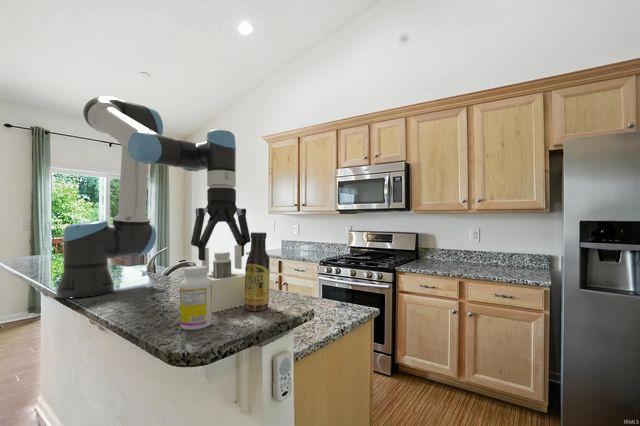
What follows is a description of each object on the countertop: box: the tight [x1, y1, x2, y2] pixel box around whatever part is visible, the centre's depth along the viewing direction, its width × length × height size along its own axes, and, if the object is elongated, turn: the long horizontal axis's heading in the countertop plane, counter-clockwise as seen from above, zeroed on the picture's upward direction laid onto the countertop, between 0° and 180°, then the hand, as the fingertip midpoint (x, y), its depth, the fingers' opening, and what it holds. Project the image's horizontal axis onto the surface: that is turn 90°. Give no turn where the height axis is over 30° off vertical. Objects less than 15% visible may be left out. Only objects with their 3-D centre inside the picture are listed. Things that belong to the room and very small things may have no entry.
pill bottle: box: [212, 251, 232, 279], centre depth 88 cm, size 5×5×8 cm
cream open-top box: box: [206, 270, 245, 313], centre depth 88 cm, size 12×10×9 cm
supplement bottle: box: [179, 265, 213, 331], centre depth 71 cm, size 7×7×13 cm
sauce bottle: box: [244, 231, 271, 312], centre depth 84 cm, size 6×6×20 cm
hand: (222, 270), depth 88 cm, fingers open, 9 cm apart
